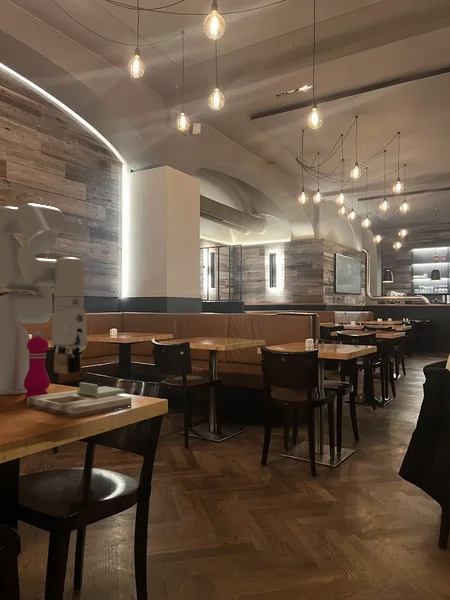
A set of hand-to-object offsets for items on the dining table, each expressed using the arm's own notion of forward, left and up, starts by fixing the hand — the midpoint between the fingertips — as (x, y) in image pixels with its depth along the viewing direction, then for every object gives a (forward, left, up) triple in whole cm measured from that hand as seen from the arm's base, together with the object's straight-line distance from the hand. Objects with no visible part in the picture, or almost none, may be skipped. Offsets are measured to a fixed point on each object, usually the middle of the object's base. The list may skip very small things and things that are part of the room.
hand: (67, 370), depth 122 cm
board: (0, +4, -10) cm, 11 cm away
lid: (0, +11, -8) cm, 14 cm away
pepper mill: (-20, +3, -10) cm, 23 cm away
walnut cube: (0, 0, 0) cm, 0 cm away
